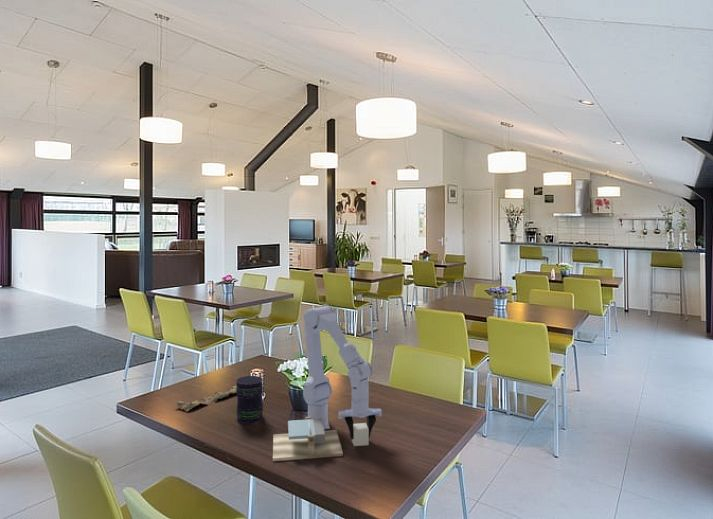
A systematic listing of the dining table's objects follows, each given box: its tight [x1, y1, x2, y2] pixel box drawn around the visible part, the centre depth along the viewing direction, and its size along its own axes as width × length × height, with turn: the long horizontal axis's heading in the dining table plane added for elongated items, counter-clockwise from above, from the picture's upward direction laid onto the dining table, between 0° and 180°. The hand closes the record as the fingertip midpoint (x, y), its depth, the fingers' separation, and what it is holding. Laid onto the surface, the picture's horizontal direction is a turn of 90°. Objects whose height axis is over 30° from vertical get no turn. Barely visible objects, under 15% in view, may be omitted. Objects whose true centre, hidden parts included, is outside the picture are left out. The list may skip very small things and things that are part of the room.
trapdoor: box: [287, 419, 325, 444], centre depth 154 cm, size 12×12×3 cm
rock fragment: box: [174, 384, 237, 412], centre depth 199 cm, size 34×10×3 cm, turn 147°
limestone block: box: [351, 422, 370, 447], centre depth 158 cm, size 5×5×6 cm
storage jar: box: [236, 375, 264, 425], centre depth 177 cm, size 10×10×15 cm
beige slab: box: [272, 416, 344, 462], centre depth 155 cm, size 17×22×7 cm
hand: (359, 437), depth 158 cm, fingers closed on limestone block, 5 cm apart
